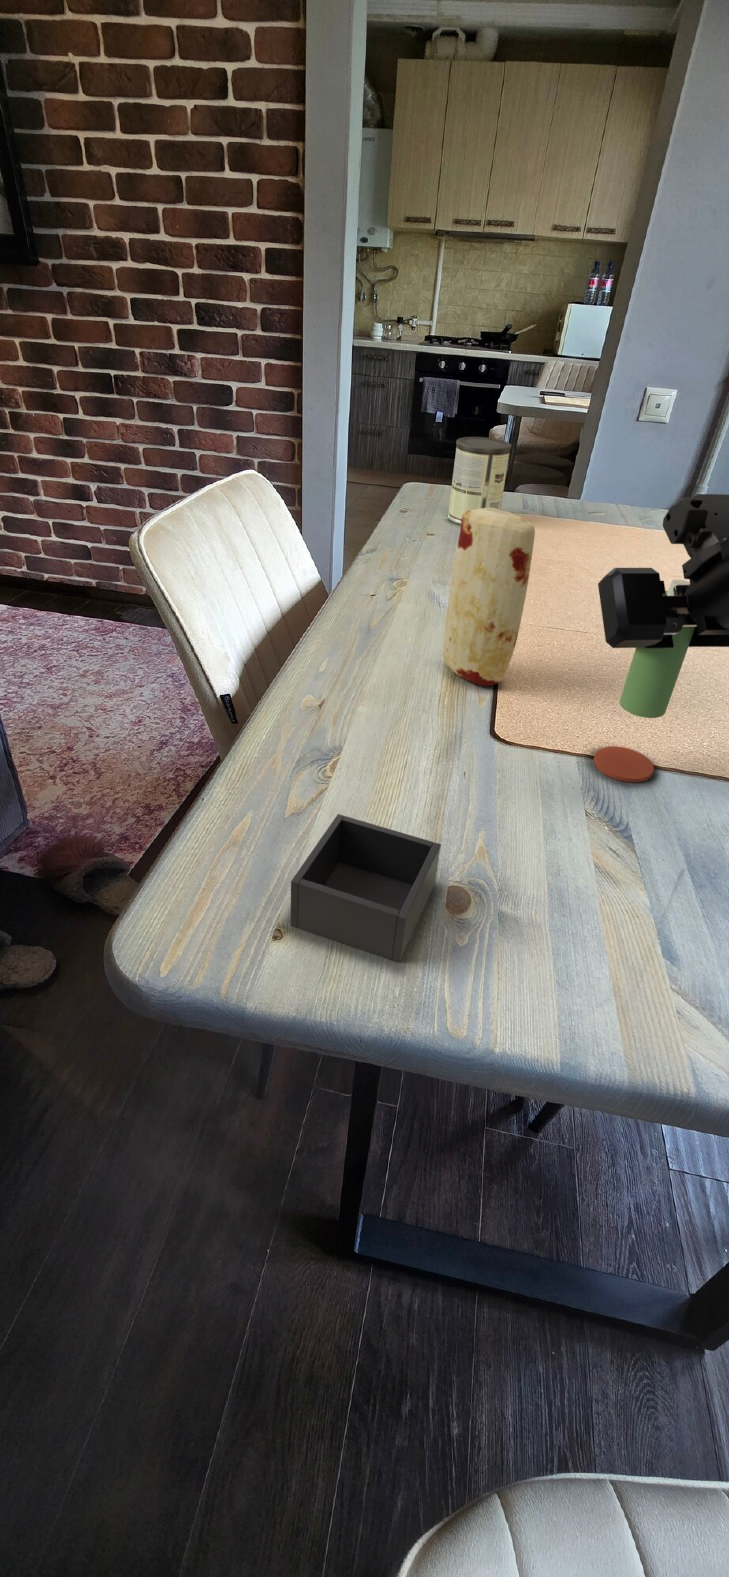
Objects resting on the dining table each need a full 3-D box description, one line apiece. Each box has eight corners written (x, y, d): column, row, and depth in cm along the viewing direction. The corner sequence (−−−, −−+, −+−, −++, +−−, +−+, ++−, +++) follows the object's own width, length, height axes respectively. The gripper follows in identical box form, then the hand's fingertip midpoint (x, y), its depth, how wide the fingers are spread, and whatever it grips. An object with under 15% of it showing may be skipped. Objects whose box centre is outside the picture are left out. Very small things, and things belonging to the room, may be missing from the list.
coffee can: (455, 508, 151) (465, 434, 143) (504, 517, 149) (517, 441, 140) (440, 521, 144) (449, 442, 135) (491, 530, 141) (504, 451, 133)
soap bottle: (671, 719, 71) (716, 594, 63) (626, 716, 71) (666, 591, 63) (657, 697, 74) (698, 576, 67) (614, 694, 74) (650, 573, 67)
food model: (426, 670, 91) (447, 503, 80) (459, 655, 96) (484, 494, 84) (490, 700, 86) (523, 526, 74) (522, 682, 90) (558, 516, 79)
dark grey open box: (433, 888, 60) (441, 843, 57) (399, 965, 53) (405, 918, 50) (335, 858, 62) (337, 813, 59) (290, 927, 55) (290, 881, 53)
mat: (658, 762, 78) (660, 758, 77) (644, 789, 73) (645, 785, 73) (603, 744, 80) (604, 740, 80) (586, 769, 76) (587, 765, 75)
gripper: (859, 471, 58) (728, 562, 73) (642, 464, 54) (552, 561, 69) (886, 606, 56) (746, 670, 71) (663, 608, 52) (567, 675, 68)
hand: (654, 642), depth 70 cm, fingers closed on soap bottle, 4 cm apart
